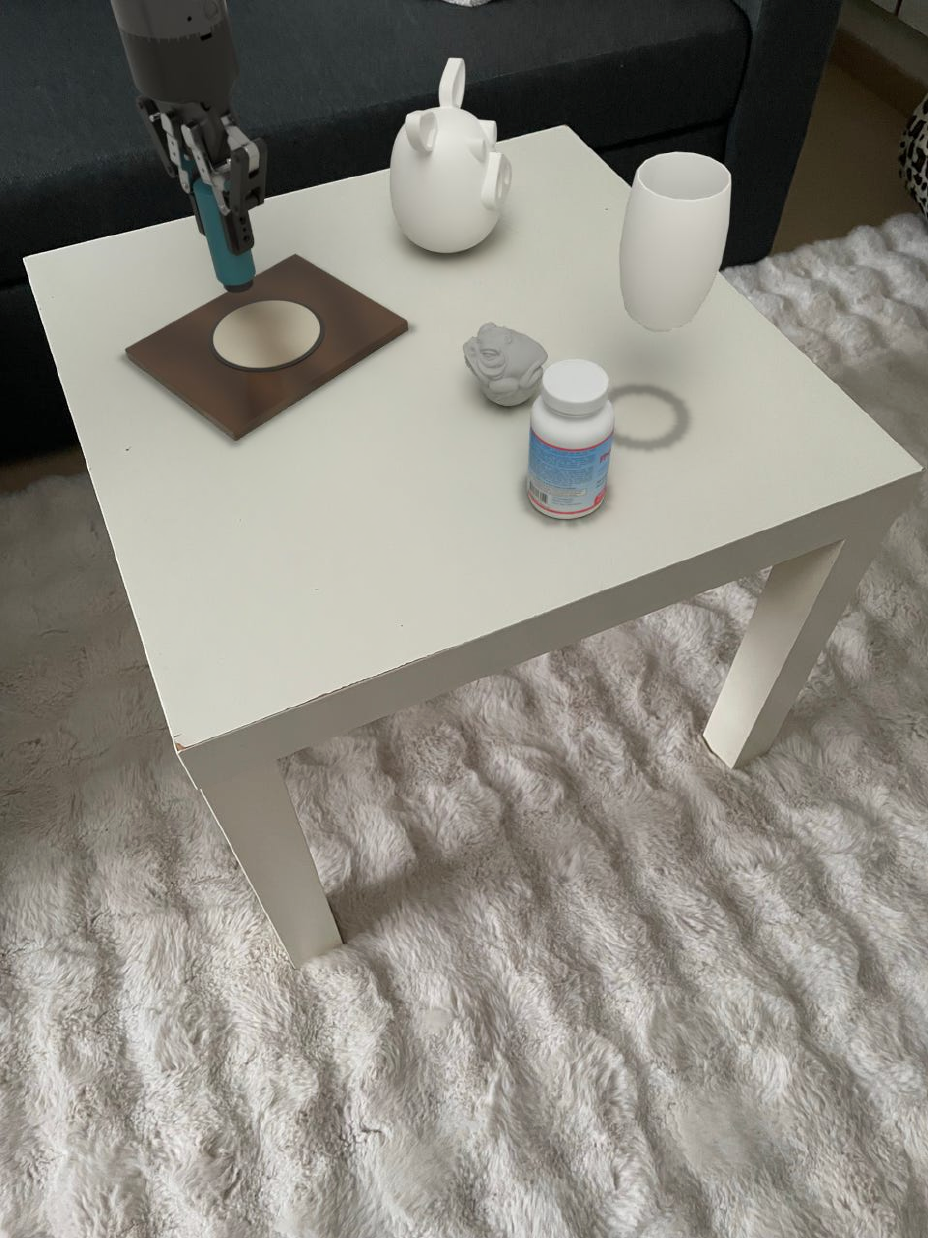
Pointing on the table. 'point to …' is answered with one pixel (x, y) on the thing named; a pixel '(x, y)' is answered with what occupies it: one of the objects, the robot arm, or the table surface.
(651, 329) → the cup
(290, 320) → the wooden board with hole
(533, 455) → the pill bottle
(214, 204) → the teal cylinder
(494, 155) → the piggy bank
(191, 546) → the table surface
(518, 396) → the grey sculpted head figurine
